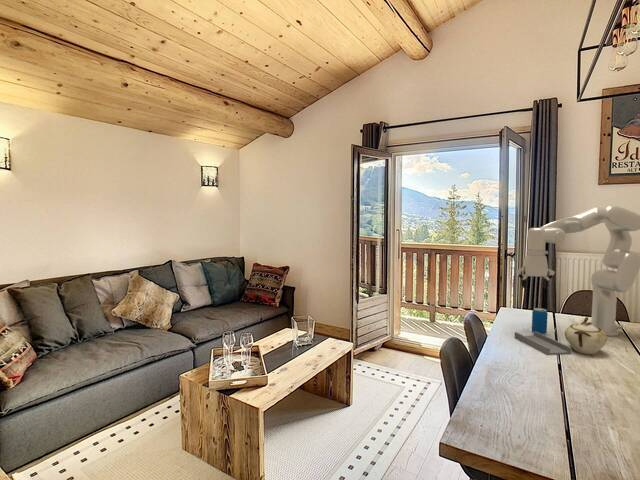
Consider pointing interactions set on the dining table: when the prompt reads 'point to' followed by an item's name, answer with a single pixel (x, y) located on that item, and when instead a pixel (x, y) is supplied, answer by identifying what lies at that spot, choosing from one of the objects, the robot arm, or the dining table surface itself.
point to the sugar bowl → (585, 337)
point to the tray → (544, 344)
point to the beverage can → (539, 320)
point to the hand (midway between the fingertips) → (534, 287)
